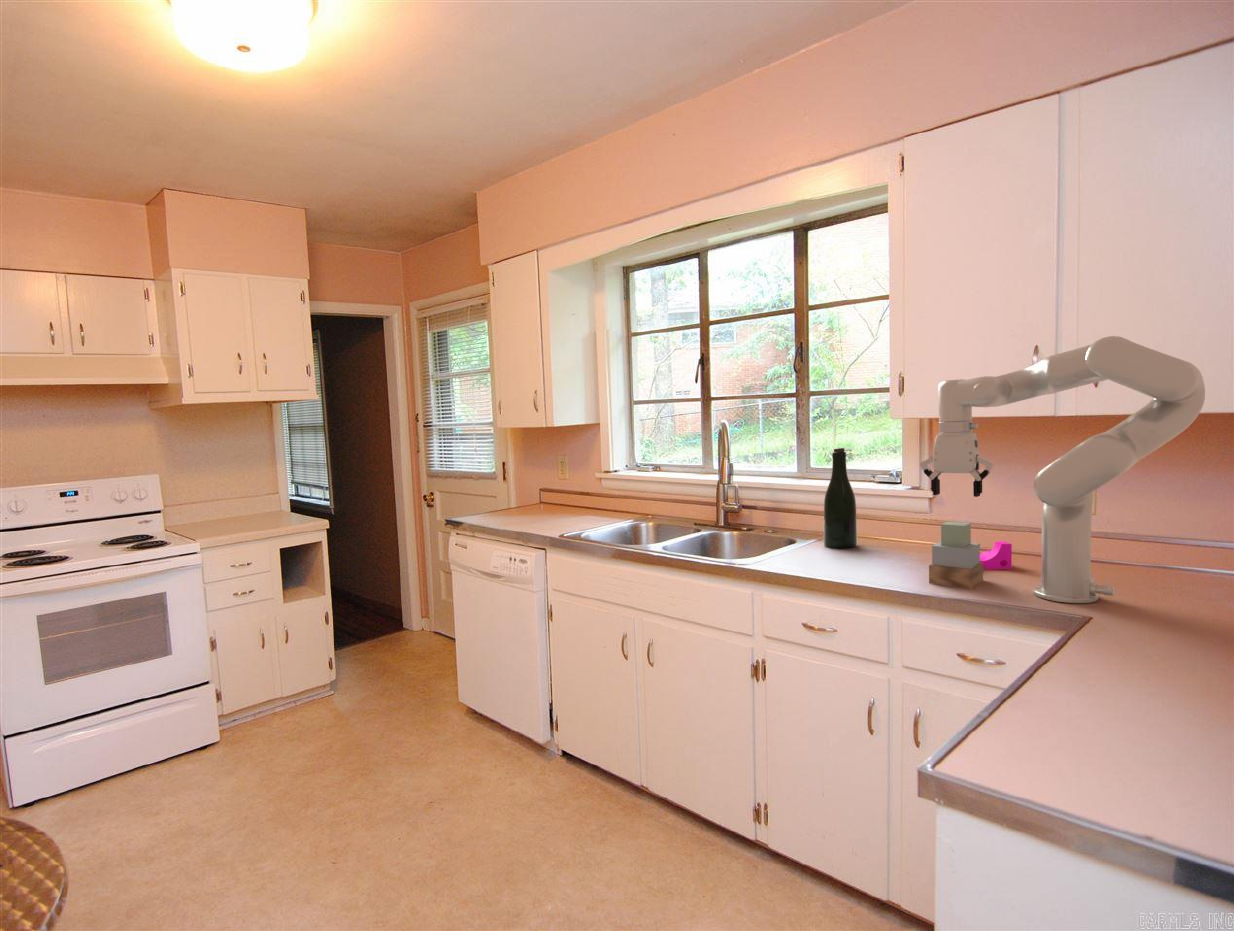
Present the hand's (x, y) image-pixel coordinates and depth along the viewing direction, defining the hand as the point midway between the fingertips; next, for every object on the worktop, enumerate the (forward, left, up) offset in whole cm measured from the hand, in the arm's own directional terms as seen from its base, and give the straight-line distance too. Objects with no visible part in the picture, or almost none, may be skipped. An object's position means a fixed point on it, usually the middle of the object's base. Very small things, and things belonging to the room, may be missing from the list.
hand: (956, 495), depth 170 cm
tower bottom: (0, 0, -23) cm, 23 cm away
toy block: (0, -19, -23) cm, 30 cm away
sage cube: (0, 0, -13) cm, 13 cm away
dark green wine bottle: (+43, -25, -23) cm, 55 cm away
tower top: (0, 0, -18) cm, 18 cm away
